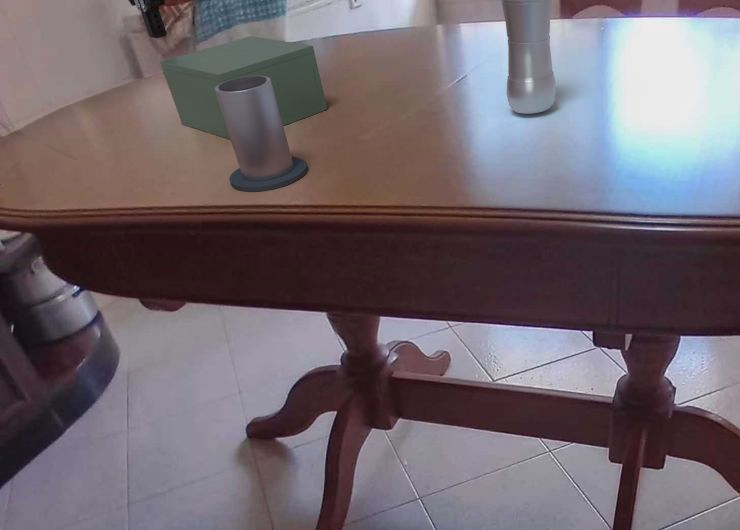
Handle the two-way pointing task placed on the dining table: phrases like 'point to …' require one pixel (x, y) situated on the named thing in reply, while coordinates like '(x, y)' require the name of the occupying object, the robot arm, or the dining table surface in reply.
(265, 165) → the gray cup
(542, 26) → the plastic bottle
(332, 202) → the dining table surface
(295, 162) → the coaster
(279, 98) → the green box
